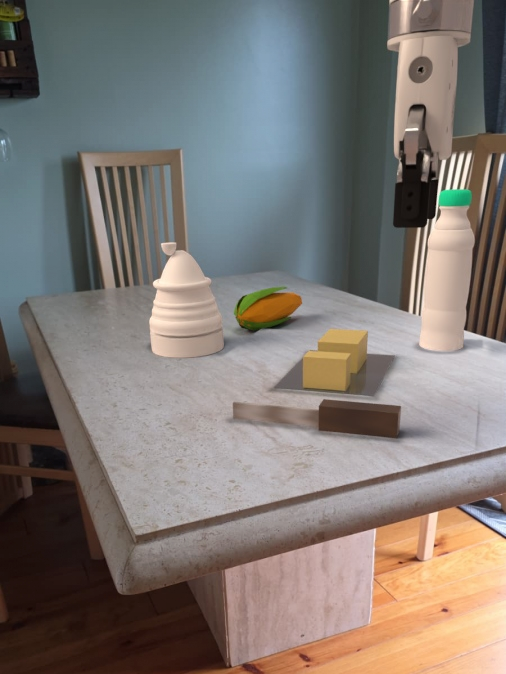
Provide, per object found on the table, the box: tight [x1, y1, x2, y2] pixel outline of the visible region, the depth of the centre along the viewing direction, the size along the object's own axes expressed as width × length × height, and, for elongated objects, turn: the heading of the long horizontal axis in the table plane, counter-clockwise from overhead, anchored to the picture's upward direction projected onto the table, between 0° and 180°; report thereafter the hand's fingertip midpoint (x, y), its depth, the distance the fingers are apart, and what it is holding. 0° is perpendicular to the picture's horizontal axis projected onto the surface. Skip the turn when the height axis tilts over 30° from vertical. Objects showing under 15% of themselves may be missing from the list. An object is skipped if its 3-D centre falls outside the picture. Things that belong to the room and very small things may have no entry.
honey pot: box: [148, 241, 225, 359], centre depth 107 cm, size 13×13×18 cm
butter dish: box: [273, 349, 396, 397], centre depth 93 cm, size 14×20×1 cm
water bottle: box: [418, 188, 476, 352], centre depth 99 cm, size 7×7×25 cm
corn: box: [233, 286, 303, 331], centre depth 124 cm, size 7×8×20 cm
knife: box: [232, 398, 402, 441], centre depth 73 cm, size 20×2×4 cm, turn 71°
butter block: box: [317, 328, 369, 374], centre depth 95 cm, size 6×8×4 cm
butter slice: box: [302, 350, 351, 391], centre depth 86 cm, size 6×3×4 cm, turn 71°
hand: (415, 222), depth 65 cm, fingers open, 9 cm apart
